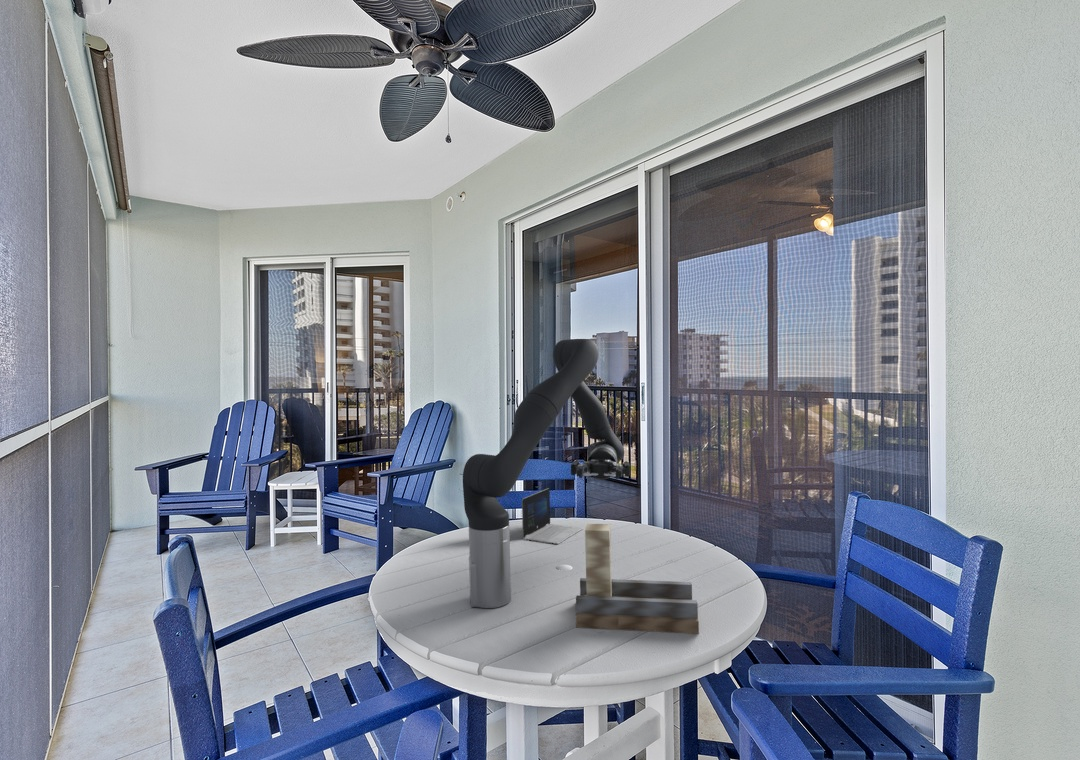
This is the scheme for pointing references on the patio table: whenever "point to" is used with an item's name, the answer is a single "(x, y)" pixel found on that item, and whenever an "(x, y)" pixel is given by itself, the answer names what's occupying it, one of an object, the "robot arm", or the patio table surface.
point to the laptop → (542, 520)
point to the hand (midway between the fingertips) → (598, 474)
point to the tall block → (598, 560)
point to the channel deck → (640, 607)
